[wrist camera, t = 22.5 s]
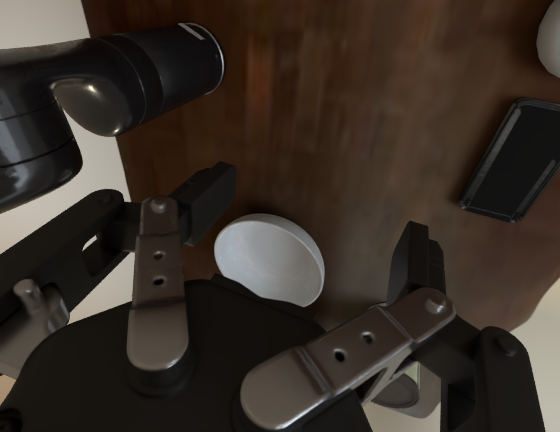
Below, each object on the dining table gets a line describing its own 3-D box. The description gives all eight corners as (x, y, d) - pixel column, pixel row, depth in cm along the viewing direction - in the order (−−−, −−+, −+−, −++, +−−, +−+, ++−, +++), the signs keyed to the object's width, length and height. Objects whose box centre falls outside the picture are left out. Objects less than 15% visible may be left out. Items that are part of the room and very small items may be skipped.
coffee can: (360, 327, 66) (347, 393, 56) (371, 295, 60) (360, 362, 50) (411, 345, 64) (408, 417, 53) (428, 313, 58) (429, 387, 47)
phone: (456, 207, 44) (519, 98, 35) (455, 203, 45) (517, 95, 36) (518, 225, 42) (601, 115, 33) (516, 220, 43) (597, 111, 34)
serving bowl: (214, 239, 67) (196, 260, 62) (265, 177, 54) (248, 197, 49) (289, 299, 69) (278, 324, 64) (356, 253, 56) (349, 281, 51)
